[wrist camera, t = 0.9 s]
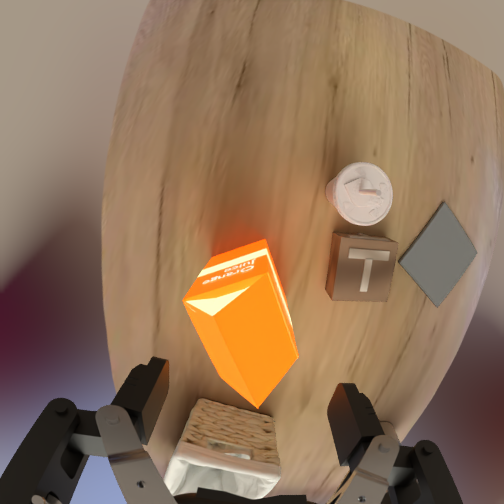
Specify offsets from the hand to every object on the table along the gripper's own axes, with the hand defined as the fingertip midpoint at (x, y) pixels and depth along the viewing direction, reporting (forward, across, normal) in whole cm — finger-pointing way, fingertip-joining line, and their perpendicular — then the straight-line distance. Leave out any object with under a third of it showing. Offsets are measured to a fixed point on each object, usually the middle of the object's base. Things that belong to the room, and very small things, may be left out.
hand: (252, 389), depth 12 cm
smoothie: (+26, -9, -10) cm, 29 cm away
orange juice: (+26, 0, +3) cm, 26 cm away
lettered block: (+25, -14, -1) cm, 29 cm away
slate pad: (+25, -29, -4) cm, 38 cm away
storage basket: (+25, +1, +38) cm, 46 cm away
